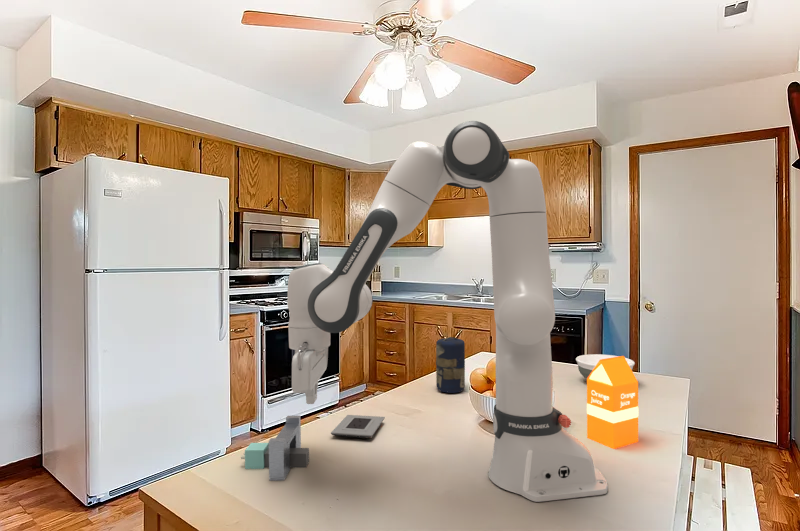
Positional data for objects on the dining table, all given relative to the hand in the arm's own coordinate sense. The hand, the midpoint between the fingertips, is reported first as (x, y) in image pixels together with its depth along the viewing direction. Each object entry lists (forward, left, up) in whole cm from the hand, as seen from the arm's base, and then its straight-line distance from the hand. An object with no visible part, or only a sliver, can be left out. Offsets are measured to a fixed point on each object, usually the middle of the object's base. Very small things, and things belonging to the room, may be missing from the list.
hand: (311, 402), depth 101 cm
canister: (-35, -54, -14) cm, 66 cm away
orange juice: (-70, -12, -14) cm, 73 cm away
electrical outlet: (-8, -19, -14) cm, 25 cm away
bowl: (-89, -61, -14) cm, 109 cm away
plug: (+8, 0, -14) cm, 16 cm away
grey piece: (+6, 0, -14) cm, 15 cm away
